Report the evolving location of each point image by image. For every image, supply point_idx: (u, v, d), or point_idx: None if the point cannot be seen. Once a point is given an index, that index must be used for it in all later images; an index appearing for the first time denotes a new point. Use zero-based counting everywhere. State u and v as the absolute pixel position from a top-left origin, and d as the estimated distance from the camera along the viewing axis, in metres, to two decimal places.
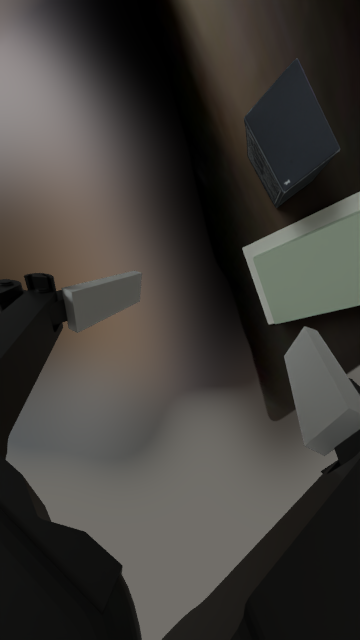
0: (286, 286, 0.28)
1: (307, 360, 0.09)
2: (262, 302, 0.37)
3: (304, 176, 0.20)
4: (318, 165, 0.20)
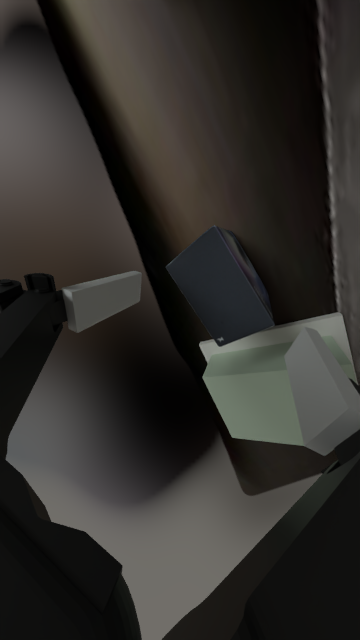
0: (240, 409, 0.25)
1: (307, 360, 0.09)
2: None
3: (238, 338, 0.17)
4: (252, 333, 0.16)
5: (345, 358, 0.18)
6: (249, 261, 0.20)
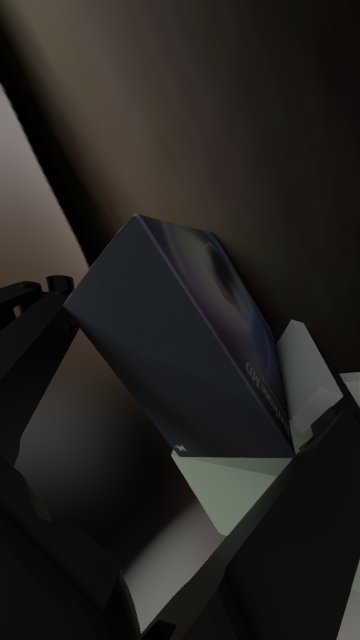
0: (228, 507, 0.16)
1: (292, 349, 0.10)
2: None
3: (215, 456, 0.08)
4: (243, 457, 0.07)
5: None
6: (240, 286, 0.11)
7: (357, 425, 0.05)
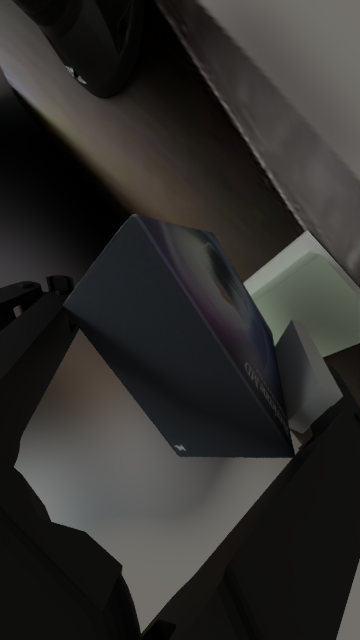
0: None
1: (292, 349, 0.10)
2: None
3: (214, 455, 0.08)
4: (242, 456, 0.07)
5: (316, 255, 0.21)
6: (240, 286, 0.11)
7: (357, 425, 0.05)
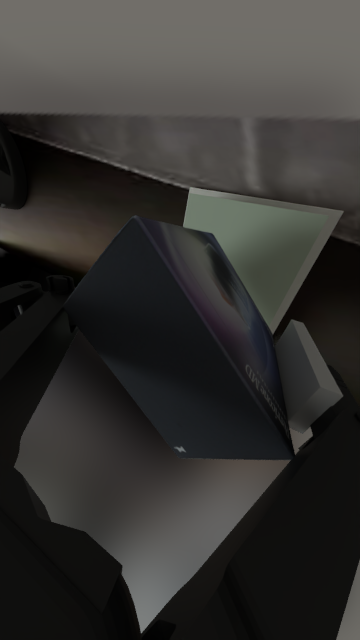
0: None
1: (292, 349, 0.10)
2: None
3: (214, 457, 0.08)
4: (243, 458, 0.07)
5: None
6: (240, 287, 0.11)
7: (357, 425, 0.05)
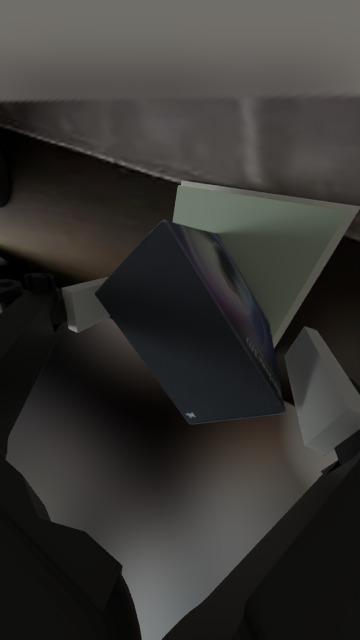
0: None
1: (307, 360, 0.09)
2: None
3: (220, 419, 0.10)
4: (243, 417, 0.09)
5: None
6: (242, 280, 0.13)
7: None
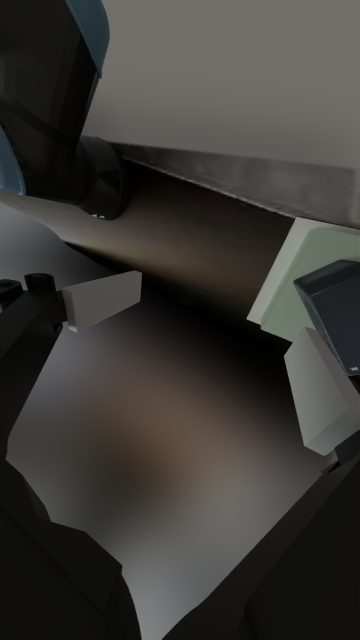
0: (310, 327, 0.27)
1: (307, 360, 0.09)
2: None
3: None
4: None
5: (315, 229, 0.23)
6: None
7: None
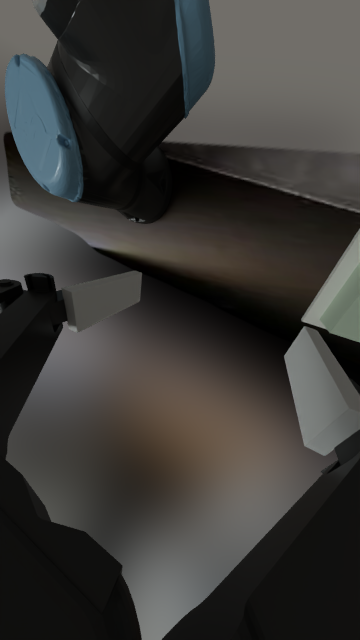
0: None
1: (307, 360, 0.09)
2: None
3: None
4: None
5: None
6: None
7: None
